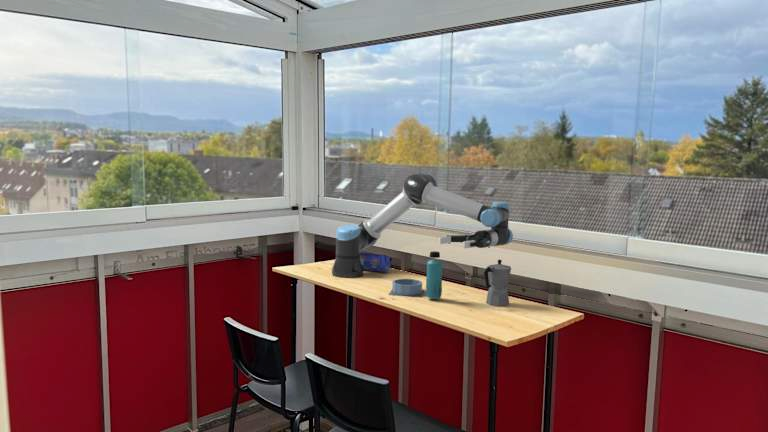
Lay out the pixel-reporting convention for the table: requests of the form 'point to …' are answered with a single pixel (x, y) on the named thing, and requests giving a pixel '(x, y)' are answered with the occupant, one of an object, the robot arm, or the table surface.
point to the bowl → (407, 287)
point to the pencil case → (375, 262)
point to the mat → (408, 296)
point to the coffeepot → (497, 284)
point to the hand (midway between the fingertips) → (451, 242)
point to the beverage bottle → (434, 276)
